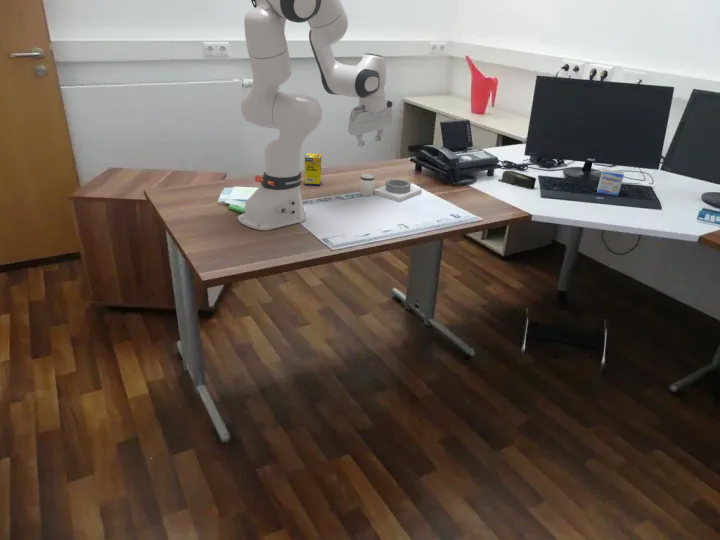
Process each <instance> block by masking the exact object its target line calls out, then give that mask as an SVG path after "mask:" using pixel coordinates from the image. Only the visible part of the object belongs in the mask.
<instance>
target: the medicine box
mask: <svg viewBox="0 0 720 540" xmlns="http://www.w3.org/2000/svg"><path fill="white" fill-rule="evenodd" d="M600 173H601V174H600V178H599V181H598V186H597V189H596V191H597V192H596V193H597V194H602V195H609V196H615V197H618V196H619V194H620V191H621V187H622V183H623V180H624V177H625V174H624V171H623V172H622V171H617V170H616V171H615V170H611V169H602V170H601V172H600Z"/></svg>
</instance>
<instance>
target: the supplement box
mask: <svg viewBox="0 0 720 540" xmlns="http://www.w3.org/2000/svg"><path fill="white" fill-rule="evenodd" d="M321 183H322V153H306V154H305V156H304V186H313V187H320V186H321Z"/></svg>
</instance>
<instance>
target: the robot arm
mask: <svg viewBox="0 0 720 540" xmlns="http://www.w3.org/2000/svg"><path fill="white" fill-rule="evenodd" d="M250 1H251V4H252V6H253V8H252V9H250V10H249V11H248V12H247V13H246V14H245V16H244V19H243V21H244V22H243V23H244V26H243V27H244V37H245V43H246V48H247V53H248V57H249V61H250V62H249V63H250V66H251V71H252V78H253V79H252V86H251V88H250V89H249V90H248V92H246V93H245V94H244V96H243V98H242V99H241V103H240V104H241V105H240V108H241V109H240V110H241V114H242V116H243V118H244V120H245V121H246V122H248V123H250V124H252V125H254V126H258V127H261V128H268V129H276V130H279V135H278V138H277V139H275V140H272V141H271V142H269V143H268V144H267V145H266V147H265V148H264V152H263V153H264V172H263V175H262V176H260V175H255V176H254V181H255V182H257V183H260V185H259V187H257V189H256V190H255V192H253V194H252V195H251V196H250V197H249V198H248V199H247V200H246V202H245V206H244V207H245V208H244V213H241V214H240V215H238V216H237V220H238V222H239V223H240V224H242V225H244V226H246V227H248V228H252V229H254V230H257V231H258V230H259V231H270V230H274V229H277V228H282V227H286V226H290V225H295V224H298V223H303V222H305V221H306V219H305V216H306V212H305V209H304V204H303V198H302V190H301V184H302V172H301V167H300V165H301V151H302V147H303V144H304V143H305V140H306V139H307V137H308V136H309V135H310V134H311V133H312V132H314V131H315V130H316V129H318V127H319V125H320V123H321V121H322V116H323V112H322V107H321V105H320V102H319V101H318V100H317V98H313V97H311V96H308V95H305V94H301V93H294V92H293V93H292V92H291V93H290V92H284V91H281V88H280V86H282V85H283V84H285V83H286V82H288V80H289V79H290V77H291V75H292V70H293V69H292V64H291V63H292V62H291V57H290V52H289V47H288V43H287V38H286V35H285V34H286V33H285V32H286V31H285V27H286V22H287V20H288V22H293V23H298V24H299V23H300V24H301V23H305V22H306V23H307V24H308V25H309V28H310V30H309V33H308V39H309V44H310V47H311V50H312V53H313V55H314V58H315V61H316V64H317V67H318V69H319V73H320V79H321V85H322V87H323V89H324V90H325V92H326V93H327V94H329V95H334V96H335V95H337V96H339V95H340V96H345V97H352V98H358V106H355V107H353V109H352V110H351V111H350V114H349V118H348V119H349V120H348V126H347V127H348V128H347V131H348V133H349V134H350V135H351V136H355V138H356V140H357V146H358V147H364V146H365V140H364V139H363V137H364V134H368V133H372V132H376V131H377V132H376V135H375V136H374V142H377V143H380V142H381V141H382V137H383V135H384V132H385V129H387V128H390V127H391V125H393V117H394V111H393V107H394V101H393V100H390V99H387V98H386V93H385V87H386V82H387V81H386V80H387V65H386V64H387V63H386V59H385V57H384V56H383V55H380V54H374V53H368V52H367V53H363V54H362V57H361V60H360V62H358V63H357V64H355V65H351V64H350V65H349V64H344V63H341V62H340V61H337V60H336V58H335V56H334V52H333V48H332V46H333V45H335V44H337V43H338V42H339V41H341V40H342V39H343V37H344V36H345V35H346V33H347V30H348V27H349V19H348V14H347V12H346V9H345V8H344V6H343V3H342V1H341V0H250Z"/></svg>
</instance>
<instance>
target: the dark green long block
mask: <svg viewBox="0 0 720 540" xmlns="http://www.w3.org/2000/svg"><path fill="white" fill-rule="evenodd" d="M497 181H499V182H503V183H507V184H509V185H513V186H517V187H520V188H524V189H527V190H532V189H535V184H536V182H537V178H536V177H535V176H530V175H527V174H524V173H522V172H521V173H520V172H517V171H514V170H504V171H503V172H502V176H501V179H500V178H498V179H497Z"/></svg>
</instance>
